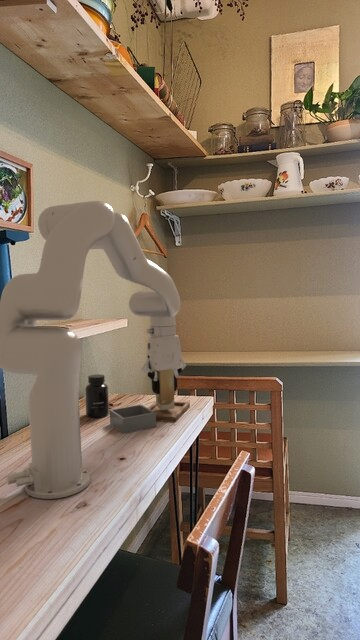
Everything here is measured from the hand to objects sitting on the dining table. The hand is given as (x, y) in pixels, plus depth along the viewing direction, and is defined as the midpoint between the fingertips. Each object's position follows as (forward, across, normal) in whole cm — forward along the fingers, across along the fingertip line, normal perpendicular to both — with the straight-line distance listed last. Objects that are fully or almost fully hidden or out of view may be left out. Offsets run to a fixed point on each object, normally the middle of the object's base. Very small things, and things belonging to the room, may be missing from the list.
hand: (164, 391), depth 133 cm
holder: (+7, -13, -5) cm, 15 cm away
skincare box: (+5, 0, 0) cm, 5 cm away
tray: (+7, 0, 0) cm, 7 cm away
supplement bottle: (+7, -18, +10) cm, 22 cm away
